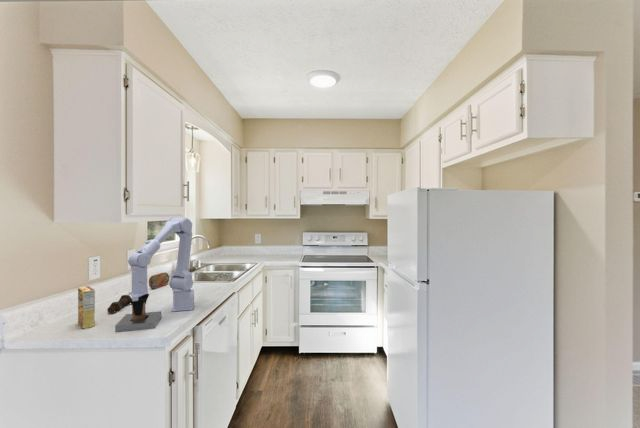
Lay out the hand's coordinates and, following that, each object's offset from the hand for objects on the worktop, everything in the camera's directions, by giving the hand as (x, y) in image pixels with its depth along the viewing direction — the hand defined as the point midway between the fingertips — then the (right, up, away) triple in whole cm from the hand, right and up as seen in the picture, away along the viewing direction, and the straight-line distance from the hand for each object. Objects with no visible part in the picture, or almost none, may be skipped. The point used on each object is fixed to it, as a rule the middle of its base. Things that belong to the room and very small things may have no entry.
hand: (139, 313), depth 132 cm
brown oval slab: (-24, -4, +63) cm, 67 cm away
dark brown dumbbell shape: (-22, -5, +20) cm, 30 cm away
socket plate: (0, -4, 0) cm, 4 cm away
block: (0, -3, 0) cm, 3 cm away
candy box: (-21, -5, -1) cm, 22 cm away
